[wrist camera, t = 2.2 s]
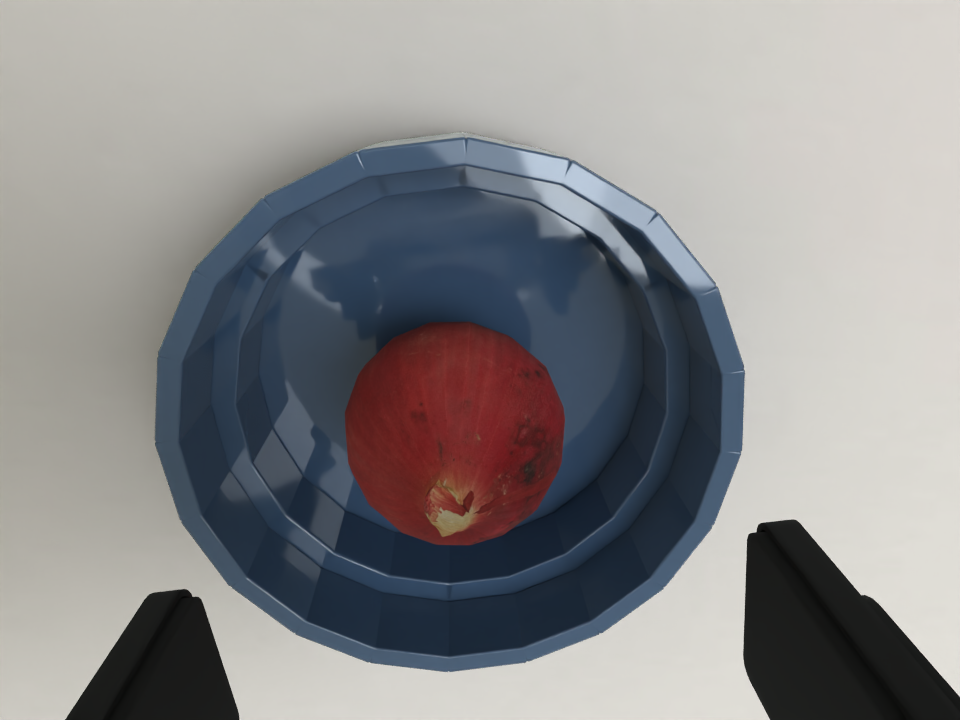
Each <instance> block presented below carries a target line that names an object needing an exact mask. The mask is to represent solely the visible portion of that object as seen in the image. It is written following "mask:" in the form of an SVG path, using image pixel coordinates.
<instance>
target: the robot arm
mask: <svg viewBox="0 0 960 720" xmlns="http://www.w3.org/2000/svg"><path fill="white" fill-rule="evenodd" d="M743 656H744V664H745V668H746V672H747V675H748V677H749V680H750V682H751V684H752V686H753V688H754V689H755V691H756V693H757V695H758V697H759V699H760V701H761V703H762V705H763V707H764V709H765V711H766V713H767V714H768V716H769V718H770V720H960V697H959V696H958V695H957V693H956V692H955V691H954V690H953V689H952V688H951V686H950V685H949V684H948V683H947V682H946V681H945V680H944V678H943V677H942V676H941V675H940V674H939V673H938V672H937V670H936V669H935V668H934V667H933V666H932V665H931V664H930V662H929V661H928V660H927V659H926V658H925V657H924V655H923V654H922V653H921V652H920V651H919V650H918V649H917V647H916V646H915V645H914V644H913V643H912V642H911V641H910V639H909V638H908V637H907V636H906V635H905V634H904V632H903V631H902V630H901V629H900V628H899V627H898V626H897V624H896V623H895V622H894V621H893V620H892V619H891V618H890V616H889V615H888V614H887V613H886V612H885V611H884V610H883V608H882V607H881V606H880V605H879V604H878V603H877V602H876V601H875V600H873V599H872V598H870V597H868V596H866V595H862V596H861V595H860V593H859V592H858V591H857V590H856V589H855V588H854V586H853V585H852V584H851V583H850V582H849V581H848V579H847V578H846V577H845V576H844V575H843V573H842V572H841V571H840V570H839V569H838V568H837V566H836V565H835V564H834V563H833V562H832V561H831V559H830V558H829V557H828V556H827V555H826V553H825V552H824V551H823V550H822V549H821V548H820V546H819V545H818V544H817V543H816V542H815V541H814V539H813V538H812V537H811V536H810V535H809V533H808V532H807V531H806V530H805V529H804V528H803V526H802V525H801V524H800V523H799V522H798V521H797V520H784V521H775V522H766V523H761V524H759V525H758V527H757V533H750V534H749V535H748V539H747V563H746V593H745V622H744V652H743ZM65 720H239V713H238V709H237V706H236V703H235V700H234V697H233V694H232V691H231V688H230V685H229V682H228V679H227V676H226V673H225V670H224V667H223V663H222V660H221V657H220V654H219V651H218V648H217V645H216V642H215V639H214V636H213V633H212V630H211V627H210V624H209V621H208V618H207V615H206V612H205V609H204V606H203V603H202V601H201V599H200V598H199V597H192V595H191V593H190V592H189V591H188V590H185V589H182V590H173V591H165V592H156V593H152V594H149V595H148V596H147V598H146V599H145V600H144V602H143V603H142V605H141V606H140V608H139V609H138V611H137V612H136V614H135V615H134V617H133V618H132V620H131V621H130V623H129V624H128V626H127V627H126V629H125V630H124V632H123V633H122V635H121V636H120V638H119V639H118V641H117V642H116V644H115V645H114V647H113V648H112V650H111V651H110V653H109V654H108V656H107V657H106V659H105V660H104V662H103V664H102V665H101V667H100V668H99V670H98V671H97V673H96V674H95V676H94V677H93V679H92V680H91V682H90V683H89V685H88V686H87V688H86V689H85V691H84V692H83V694H82V695H81V697H80V698H79V700H78V701H77V703H76V704H75V706H74V707H73V709H72V710H71V712H70V713H69V715H68V716H67V718H66V719H65Z"/></svg>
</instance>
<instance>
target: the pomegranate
mask: <svg viewBox="0 0 960 720" xmlns="http://www.w3.org/2000/svg"><path fill="white" fill-rule="evenodd" d="M564 427H565V415H564V407H563V405H562V402H561V400H560V398H559V396H558V393H557V391H556V389H555V386H554V384H553V382H552V379H551V377H550V375H549V372H548V370H547V368H546V366H545V365H543V364H542V363H541V362H540V361H539V360H538V359H536V358H535V357H534V356H533V355H532V354H531V353H529V352H528V351H527V350H526V349H525V348H523V347H522V346H521V345H520V344H519V343H518V342H516V341H515V340H514V339H513V338H511V337H509V336H508V335H506V334H503V333H500V332H497V331H495V330H492V329H489V328H486V327H483V326H481V325H478V324H475V323H472V322H430V323H427V324H425V325H422V326H420V327H418V328H415V329H413V330H410V331H408V332H406V333H403V334H401V335H399V336H396V337H394V338H393V339H392V340H391V341H389V342H388V343H387V344H386V345H385V346H384V347H383V348H382V349H381V350H380V351H379V352H378V353H377V354H376V355H375V356H374V357H373V358H372V359H371V360H370V361H369V362H367V363H366V364H365V366H364V367H363V369H362V370H361V371H360V373H359V374H358V376H357V379H356V382H355V385H354V388H353V390H352V393H351V396H350V399H349V402H348V405H347V407H346V410H345V430H346V442H347V454H348V464H349V466H350V468H351V471H352V473H353V475H354V477H355V479H356V481H357V483H358V484H359V486H360V488H361V490H362V492H363V494H364V496H365V498H366V500H367V501H368V503H369V505H370V506H371V507H373V508H374V509H375V510H376V511H378V512H379V513H380V514H381V515H382V516H383V517H385V518H386V519H387V520H388V521H389V522H390V523H391V524H393V525H394V526H395V527H396V528H397V529H398V530H399V531H401V532H402V533H404V534H407V535H410V536H413V537H415V538H418V539H421V540H424V541H427V542H430V543H432V544H435V545H473V544H476V543H479V542H483V541H486V540H489V539H492V538H496V537H499V536H502V535H504V534H505V533H507V532H508V531H509V530H511V529H512V528H514V527H515V526H516V525H518V524H519V523H520V522H522V521H523V520H524V519H526V518H527V517H528V516H530V515H531V514H532V513H533V512H534V511H536V510H537V509H538V507H539V505H540V503H541V501H542V500H543V498H544V496H545V494H546V493H547V491H548V489H549V487H550V485H551V484H552V482H553V480H554V478H555V476H556V475H557V472H558V470H559V468H560V466H561V463H562V451H563V439H564Z"/></svg>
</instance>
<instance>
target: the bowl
mask: <svg viewBox="0 0 960 720" xmlns="http://www.w3.org/2000/svg"><path fill="white" fill-rule="evenodd" d="M430 322H472V323H475V324H478V325H481V326H483V327H486V328H489V329H492V330H495V331H497V332H500V333H503V334H506V335H508V336H509V337H511V338H513V339H514V340H515V341H516V342H518V343H519V344H520V345H521V346H522V347H523V348H525V349H526V350H527V351H528V352H529V353H531V354H532V355H533V356H534V357H535V358H536V359H538V360H539V361H540V362H541V363H542V364H543V365H545V366H546V368H547V370H548V372H549V375H550V377H551V379H552V382H553V384H554V386H555V389H556V391H557V393H558V396H559V398H560V400H561V402H562V405H563V407H564V415H565V427H564V439H563V451H562V463H561V466H560V468H559V470H558V472H557V475H556V476H555V478H554V480H553V482H552V484H551V485H550V487H549V489H548V491H547V493H546V494H545V496H544V498H543V500H542V501H541V503H540V505H539V507H538V509H537V510H536V511H534V512H533V513H532V514H531V515H530V516H528V517H527V518H526V519H524V520H523V521H522V522H520V523H519V524H518V525H516V526H515V527H514V528H512V529H511V530H509V531H508V532H507V533H505V534H504V535H502V536H499V537H496V538H492V539H489V540H486V541H483V542H479V543H476V544H473V545H435V544H432V543H430V542H427V541H424V540H421V539H418V538H415V537H413V536H410V535H407V534H404V533H402V532H401V531H399V530H398V529H397V528H396V527H395V526H394V525H393V524H391V523H390V522H389V521H388V520H387V519H386V518H385V517H383V516H382V515H381V514H380V513H379V512H378V511H376V510H375V509H374V508H373V507H371V506H370V505H369V503H368V501H367V500H366V498H365V496H364V494H363V492H362V490H361V488H360V486H359V484H358V483H357V481H356V479H355V477H354V475H353V473H352V471H351V468H350V466H349V464H348V454H347V442H346V430H345V410H346V407H347V405H348V402H349V399H350V396H351V393H352V390H353V388H354V385H355V382H356V379H357V376H358V374H359V373H360V371H361V370H362V369H363V367H364V366H365V364H366V363H367V362H369V361H370V360H371V359H372V358H373V357H374V356H375V355H376V354H377V353H378V352H379V351H380V350H381V349H382V348H383V347H384V346H385V345H386V344H387V343H388V342H389V341H391V340H392V339H393V338H394V337H396V336H399V335H401V334H403V333H406V332H408V331H410V330H413V329H415V328H418V327H420V326H422V325H425V324H427V323H430ZM744 378H745V370H744V365H743V362H742V358H741V355H740V352H739V349H738V346H737V343H736V340H735V337H734V334H733V331H732V328H731V325H730V322H729V319H728V316H727V313H726V310H725V307H724V304H723V301H722V298H721V295H720V292H719V289H718V287H717V286H716V283H715V282H714V281H713V279H712V278H711V277H710V276H709V274H708V273H707V272H706V271H705V269H704V268H703V267H702V266H701V264H700V263H699V262H698V261H697V259H696V258H695V257H694V256H693V254H692V253H691V252H690V251H689V249H688V248H687V247H686V246H685V244H684V243H683V242H682V241H681V239H680V238H679V237H678V236H677V234H676V233H675V232H674V231H673V229H672V228H671V227H670V226H669V224H668V223H667V222H666V221H665V219H664V218H663V217H662V216H661V214H659V213H657V211H656V210H655V209H653V208H652V207H650V206H648V205H647V204H645V203H643V202H642V201H640V200H638V199H637V198H635V197H634V196H632V195H630V194H629V193H627V192H625V191H624V190H622V189H620V188H619V187H617V186H615V185H614V184H612V183H611V182H609V181H607V180H606V179H604V178H602V177H601V176H599V175H597V174H596V173H594V172H592V171H591V170H589V169H588V168H586V167H584V166H583V165H581V164H579V163H578V162H576V161H574V160H572V159H569V158H567V157H564V156H561V155H558V154H556V153H552V152H550V151H547V150H544V149H541V148H536V147H532V146H527V145H522V144H518V143H513V142H508V141H504V140H499V139H494V138H489V137H485V136H480V135H475V134H471V133H466V132H464V133H462V132H455V133H447V134H439V135H431V136H423V137H415V138H406V139H398V140H390V141H382V142H379V143H376V144H373V145H370V146H367V147H365V148H362V149H359V150H356V151H354V152H352V153H350V154H348V155H346V156H344V157H342V158H340V159H338V160H336V161H334V162H332V163H330V164H328V165H326V166H324V167H322V168H319V169H317V170H315V171H313V172H311V173H309V174H307V175H305V176H303V177H301V178H299V179H297V180H295V181H293V182H291V183H289V184H287V185H285V186H283V187H281V188H279V189H277V190H275V191H273V192H271V193H269V194H267V195H265V197H264V198H262V199H260V200H259V201H258V202H257V203H256V204H255V205H254V206H253V207H252V208H251V209H250V210H249V211H248V212H247V214H246V215H245V216H244V217H243V218H242V219H241V220H240V221H239V222H238V223H237V224H236V225H235V226H234V227H233V228H232V229H231V230H230V231H229V232H228V233H227V234H226V236H225V237H224V238H223V239H222V240H221V241H220V242H219V243H218V244H217V245H216V246H215V247H214V248H213V249H212V250H211V251H210V252H209V253H208V254H207V255H206V256H205V258H204V259H203V260H202V261H201V262H200V263H199V264H198V265H197V266H196V268H195V270H193V271H192V273H191V276H190V278H189V281H188V283H187V285H186V288H185V290H184V292H183V295H182V297H181V300H180V302H179V304H178V307H177V309H176V311H175V314H174V316H173V319H172V321H171V323H170V326H169V328H168V330H167V333H166V335H165V338H164V340H163V342H162V345H161V347H160V349H159V352H158V357H157V388H156V419H155V441H156V442H155V446H156V449H157V452H158V455H159V458H160V461H161V464H162V467H163V470H164V473H165V476H166V479H167V482H168V485H169V488H170V491H171V494H172V497H173V500H174V503H175V506H176V509H177V512H178V515H179V518H180V520H181V522H182V524H183V525H184V527H185V528H186V529H187V531H188V532H189V533H190V535H191V536H192V537H193V539H194V540H195V541H196V543H197V544H198V545H199V547H200V548H201V549H202V551H203V552H204V553H205V555H206V556H207V557H208V559H209V560H210V561H211V563H212V564H213V565H214V567H215V568H216V569H217V571H218V572H219V573H220V575H221V576H222V577H223V579H224V580H225V581H226V582H227V584H228V585H229V586H231V587H232V588H233V589H234V590H236V591H237V592H238V593H240V594H241V595H242V596H244V597H245V598H246V599H248V600H249V601H251V602H252V603H253V604H255V605H256V606H257V607H259V608H260V609H261V610H263V611H264V612H266V613H267V614H268V615H270V616H271V617H272V618H274V619H275V620H276V621H278V622H279V623H281V624H282V625H283V626H285V627H286V628H287V629H289V630H290V631H291V632H293V633H295V634H296V635H298V636H301V637H303V638H306V639H308V640H311V641H314V642H316V643H319V644H321V645H324V646H327V647H329V648H332V649H334V650H337V651H340V652H342V653H345V654H347V655H350V656H353V657H355V658H358V659H360V660H363V661H366V662H370V663H374V664H383V665H391V666H400V667H408V668H417V669H425V670H434V671H442V672H448V671H449V672H454V671H462V670H470V669H478V668H486V667H494V666H502V665H510V664H518V663H525V662H526V661H532V660H534V659H537V658H539V657H542V656H545V655H547V654H550V653H552V652H555V651H558V650H560V649H563V648H565V647H568V646H571V645H573V644H576V643H578V642H581V641H584V640H586V639H589V638H591V637H594V636H596V635H599V634H600V633H603V632H604V631H606V630H607V629H609V628H610V627H611V626H613V625H614V624H616V623H617V622H618V621H620V620H621V619H622V618H624V617H625V616H627V615H628V614H629V613H631V612H632V611H634V610H635V609H636V608H638V607H639V606H641V605H642V604H643V603H645V602H646V601H647V600H649V599H650V598H652V597H653V596H654V595H656V594H657V593H659V592H660V591H661V590H663V589H664V587H665V586H666V585H667V584H668V583H669V582H670V580H671V579H672V578H673V577H674V575H675V574H676V573H677V571H678V570H679V569H680V568H681V566H682V565H683V564H684V563H685V561H686V560H687V559H688V558H689V556H690V555H691V554H692V553H693V551H694V550H695V549H696V548H697V546H698V545H699V544H700V542H701V541H702V540H703V539H704V537H705V536H706V535H707V534H708V532H709V531H710V530H711V529H712V525H714V523H715V521H716V518H717V515H718V513H719V510H720V508H721V505H722V502H723V500H724V497H725V495H726V492H727V489H728V487H729V484H730V482H731V479H732V476H733V474H734V471H735V468H736V466H737V463H738V461H739V458H740V455H741V451H742V438H743V408H744Z"/></svg>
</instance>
